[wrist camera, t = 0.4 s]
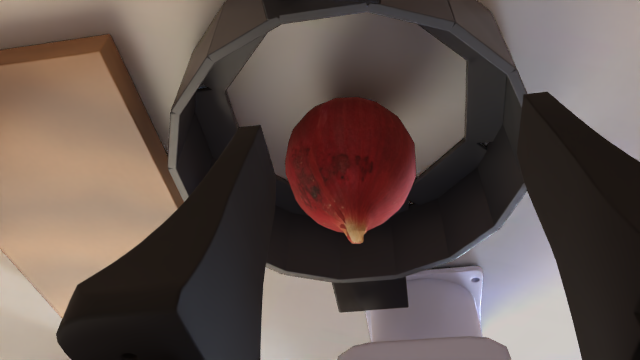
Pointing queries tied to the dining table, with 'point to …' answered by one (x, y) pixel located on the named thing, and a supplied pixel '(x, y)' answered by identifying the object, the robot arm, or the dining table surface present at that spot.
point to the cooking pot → (427, 190)
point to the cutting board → (76, 164)
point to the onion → (350, 165)
